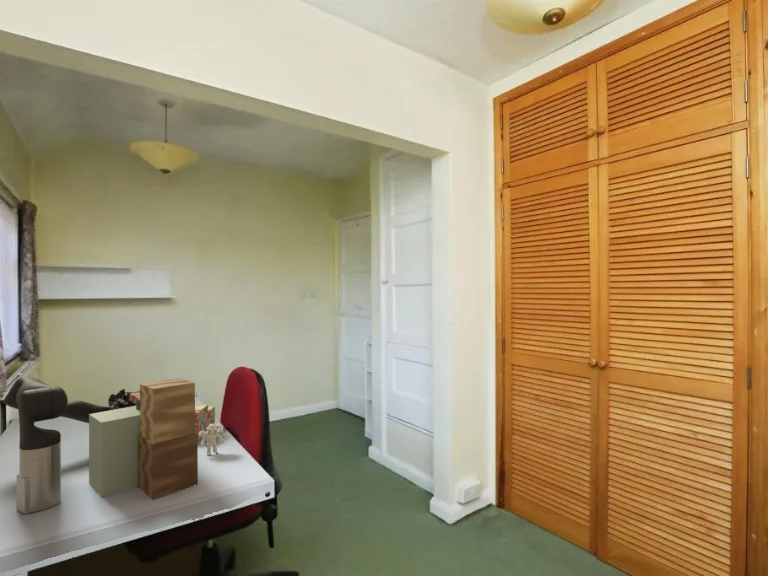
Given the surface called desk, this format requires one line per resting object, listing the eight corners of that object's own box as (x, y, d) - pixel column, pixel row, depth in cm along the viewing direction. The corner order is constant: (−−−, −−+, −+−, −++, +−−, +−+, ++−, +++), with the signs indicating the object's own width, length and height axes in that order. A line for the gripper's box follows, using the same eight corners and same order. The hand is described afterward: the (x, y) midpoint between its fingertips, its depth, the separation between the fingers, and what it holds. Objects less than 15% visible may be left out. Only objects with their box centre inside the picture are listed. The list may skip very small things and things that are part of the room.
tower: (137, 486, 131) (137, 384, 132) (180, 473, 141) (180, 377, 142) (153, 500, 123) (152, 389, 123) (197, 484, 132) (197, 382, 133)
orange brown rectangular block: (121, 402, 151) (121, 392, 151) (145, 397, 157) (145, 388, 157) (144, 413, 135) (144, 402, 135) (170, 408, 141) (170, 397, 141)
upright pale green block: (89, 483, 134) (89, 414, 135) (168, 461, 152) (167, 399, 153) (101, 496, 125) (101, 422, 126) (184, 471, 143) (183, 406, 143)
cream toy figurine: (222, 449, 163) (222, 418, 163) (225, 452, 160) (225, 420, 160) (197, 455, 157) (197, 423, 158) (200, 458, 154) (200, 425, 154)
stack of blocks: (201, 426, 193) (201, 399, 194) (215, 426, 194) (215, 399, 194) (182, 442, 172) (182, 412, 172) (198, 442, 173) (198, 411, 173)
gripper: (101, 399, 157) (113, 382, 147) (143, 393, 167) (156, 376, 158) (104, 419, 154) (116, 403, 145) (147, 411, 164) (160, 395, 155)
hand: (137, 389), depth 151 cm, fingers open, 8 cm apart
